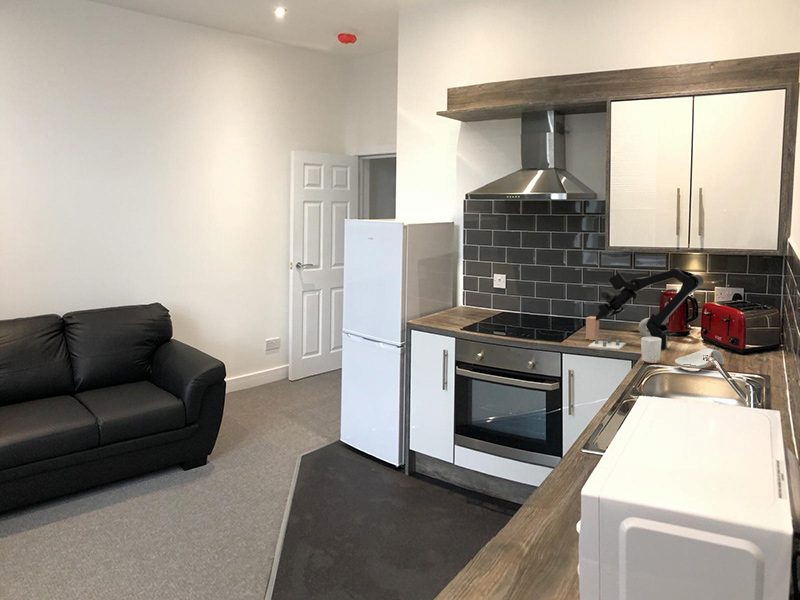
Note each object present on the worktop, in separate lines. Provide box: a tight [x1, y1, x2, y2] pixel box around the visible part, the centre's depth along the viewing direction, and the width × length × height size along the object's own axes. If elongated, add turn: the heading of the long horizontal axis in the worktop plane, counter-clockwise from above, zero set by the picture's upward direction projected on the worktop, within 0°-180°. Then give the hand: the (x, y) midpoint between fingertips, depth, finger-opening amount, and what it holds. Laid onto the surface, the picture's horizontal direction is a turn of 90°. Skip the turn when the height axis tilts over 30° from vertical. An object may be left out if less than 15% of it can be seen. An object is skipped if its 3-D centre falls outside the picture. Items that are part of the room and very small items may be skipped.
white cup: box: [640, 336, 662, 361], centre depth 258 cm, size 8×8×10 cm
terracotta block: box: [585, 315, 600, 341], centre depth 306 cm, size 5×5×11 cm
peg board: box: [587, 336, 627, 351], centre depth 291 cm, size 14×14×3 cm
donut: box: [638, 317, 652, 337], centre depth 306 cm, size 10×4×10 cm, turn 64°
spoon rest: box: [674, 347, 725, 369], centre depth 247 cm, size 24×12×7 cm, turn 120°
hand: (600, 318), depth 303 cm, fingers open, 9 cm apart
